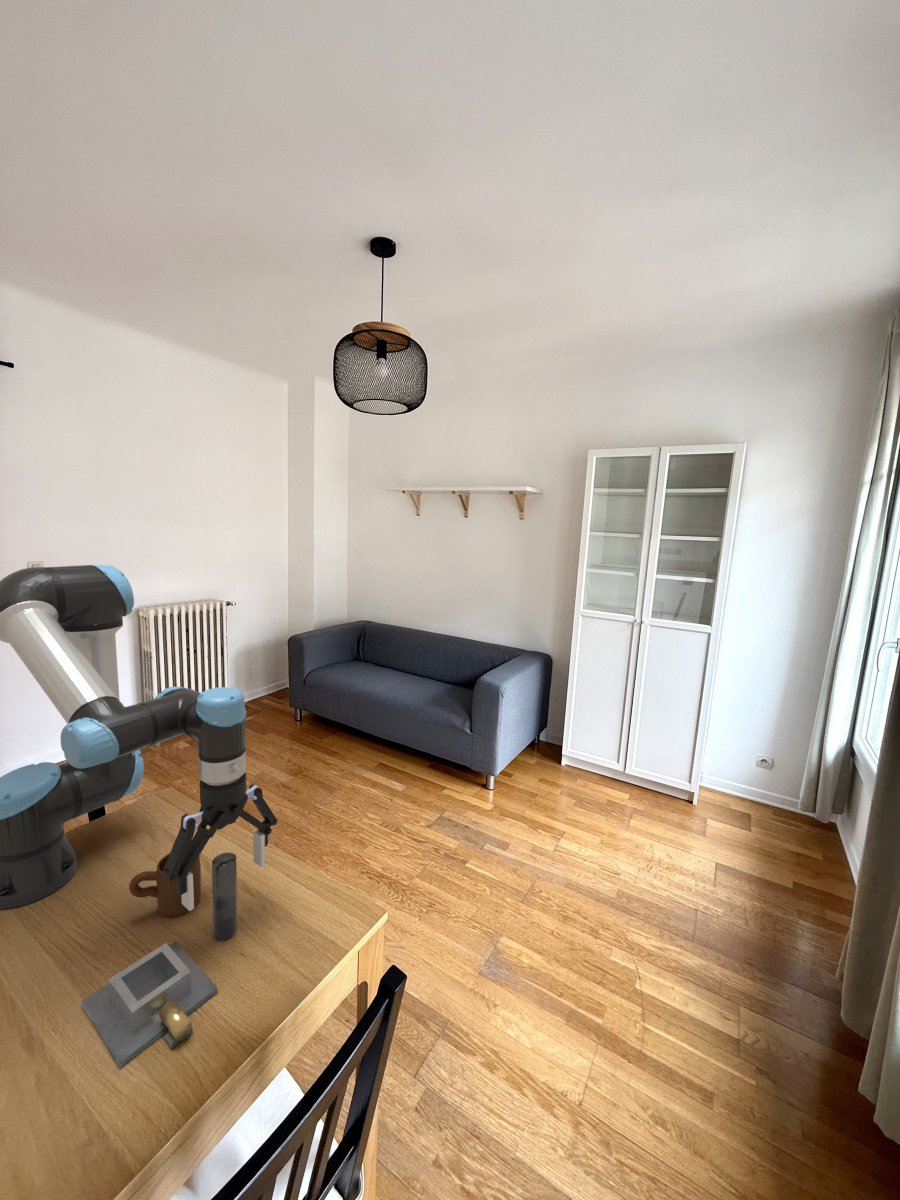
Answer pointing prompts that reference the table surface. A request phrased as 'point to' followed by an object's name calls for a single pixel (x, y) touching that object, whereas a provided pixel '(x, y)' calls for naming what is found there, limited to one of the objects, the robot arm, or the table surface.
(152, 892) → the mug
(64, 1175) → the table surface
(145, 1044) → the open box on baseplate
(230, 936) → the dark cylinder
